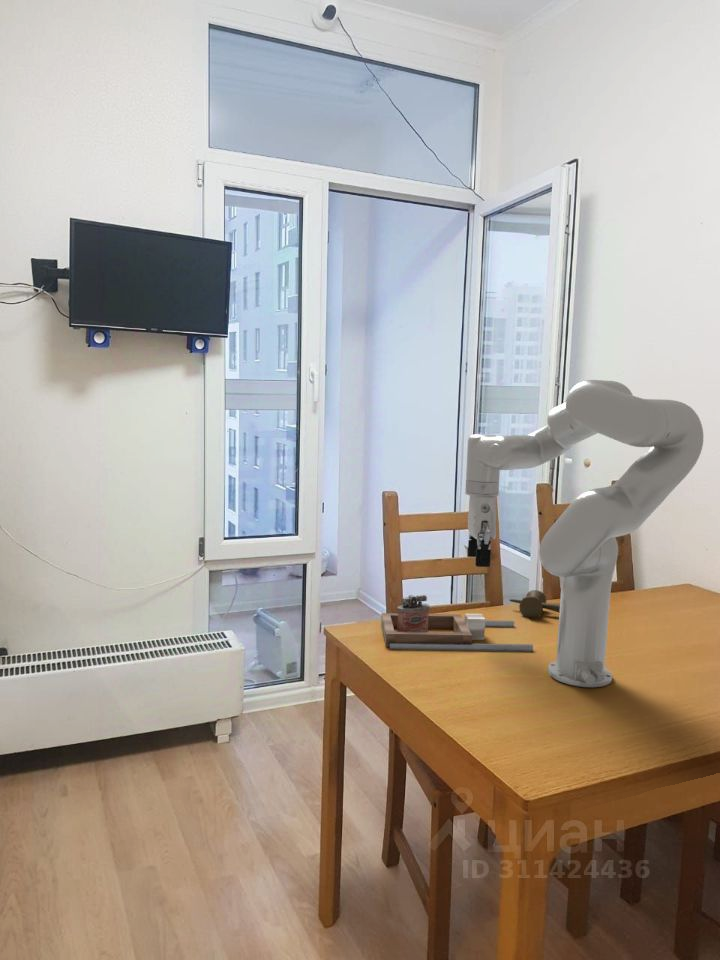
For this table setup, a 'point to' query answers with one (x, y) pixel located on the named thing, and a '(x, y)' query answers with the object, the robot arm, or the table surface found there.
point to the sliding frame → (463, 630)
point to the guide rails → (467, 646)
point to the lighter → (413, 614)
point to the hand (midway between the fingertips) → (478, 561)
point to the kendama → (535, 604)
